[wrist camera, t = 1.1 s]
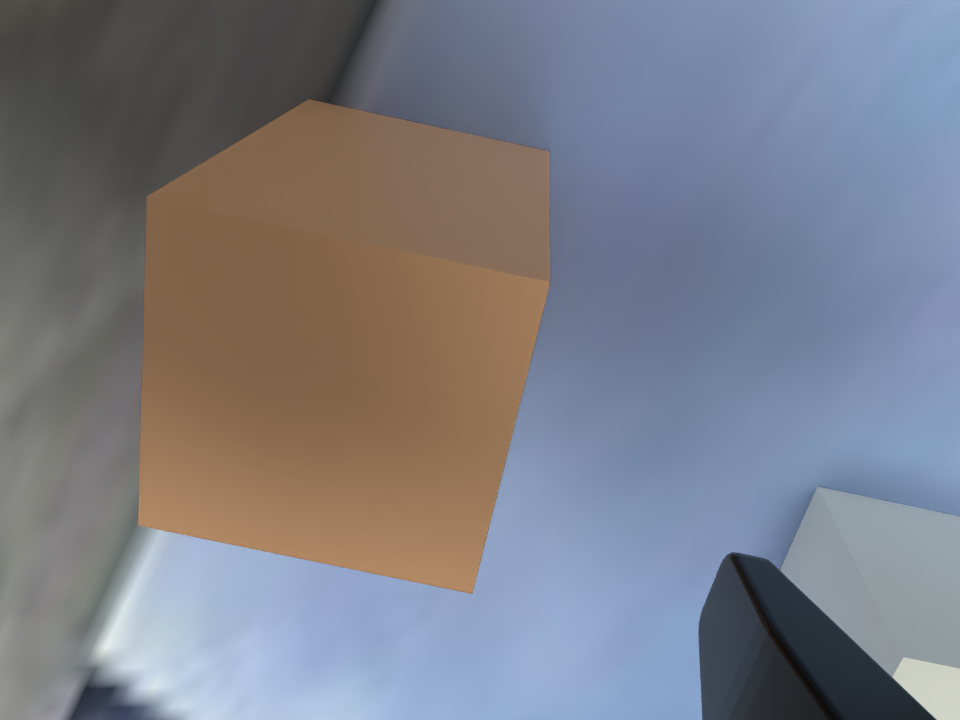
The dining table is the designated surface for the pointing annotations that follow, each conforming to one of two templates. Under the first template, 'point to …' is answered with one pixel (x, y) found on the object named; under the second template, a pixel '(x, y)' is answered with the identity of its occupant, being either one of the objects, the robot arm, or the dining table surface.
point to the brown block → (342, 340)
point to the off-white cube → (887, 587)
